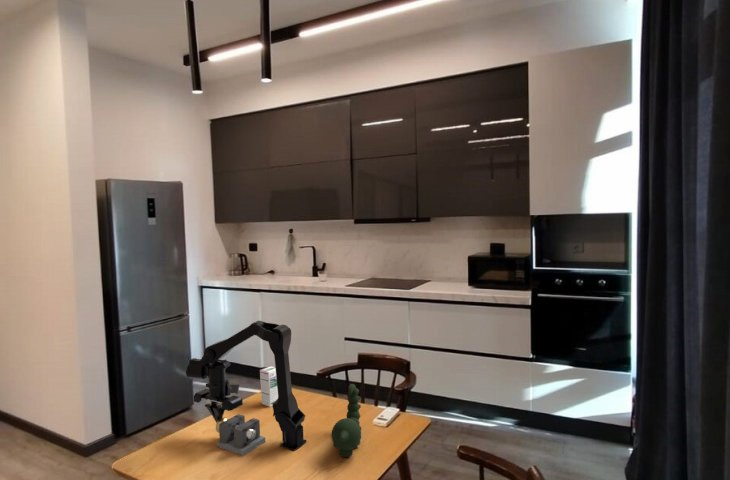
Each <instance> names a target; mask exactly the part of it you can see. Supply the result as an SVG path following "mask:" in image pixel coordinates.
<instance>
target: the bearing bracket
mask: <svg viewBox="0 0 730 480" xmlns="http://www.w3.org/2000/svg"><path fill="white" fill-rule="evenodd" d="M227 419H228V420H226V421H224V422H222V423H220V424H219V433H218V434H219V435H218V436H219V441H217V448H220V449H223V450H225V451H229V452H231V453H233V454H237V455H240V456H242V457H243V456H246V455H248V454H249V453H250V452H252V451H253V450H255V449H256V448H258V447H260V446H261V445H262V444H264V443H266V437H265V436H263V435H262V436H261V429H260V428H261V425H260V423H261V422H260V419H259V418H254V417H252V418H250V419H249V420H246V417H245V415H243V414H239V413H238V414H235V415H234V416H232V417H230V418H227ZM234 424H236V425H239V426H238V427H236V428H234V434H232V433H231V426H232V425H234ZM248 429H253V430H255V431H256V436H255V438H254V439H252V440H251V439H248V438H246V431H247V430H248Z"/></svg>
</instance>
